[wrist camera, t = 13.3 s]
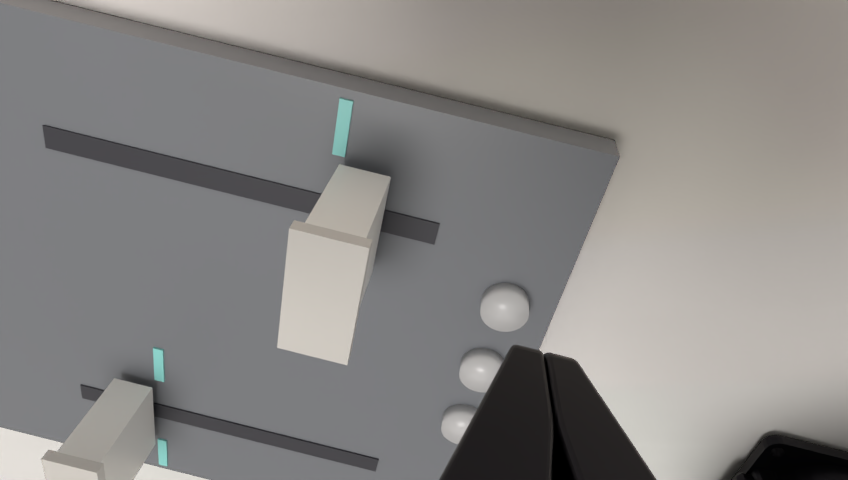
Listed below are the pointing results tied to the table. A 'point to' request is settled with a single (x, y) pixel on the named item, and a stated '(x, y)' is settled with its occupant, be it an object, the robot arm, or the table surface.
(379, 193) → the fader
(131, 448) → the fader
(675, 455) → the table surface
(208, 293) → the console
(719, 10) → the table surface
